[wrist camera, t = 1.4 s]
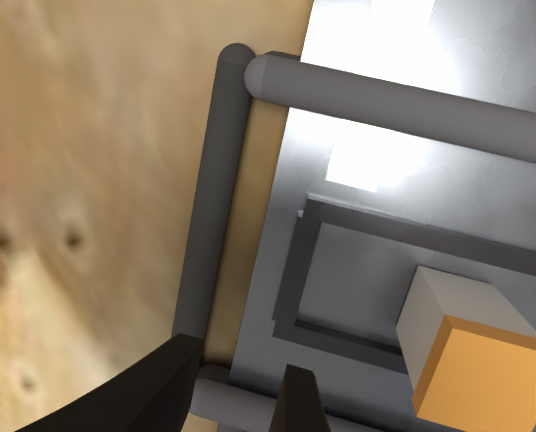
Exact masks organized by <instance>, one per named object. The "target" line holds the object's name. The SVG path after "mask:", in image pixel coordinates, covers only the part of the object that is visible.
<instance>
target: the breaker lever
mask: <svg viewBox="0 0 536 432" xmlns="http://www.w3.org/2000/svg"><path fill="white" fill-rule="evenodd" d="M396 332H397V335H398V339H399V342H400V346H401V349H402V352H403V356H404V359H405V363H406V366H407V370H408V373H409V376H410V380H411V383H412V387H413V390H414V394H413V396H412V402H413V406H414V410H415V413H416V417H418V418H422V419H425V420H429V421H432V422H435V423H439V424H442V425H446V426H449V427H453V428H456V429H459V430H463V431H466V432H532V430H533V428H534V426H535V424H536V331H535V329H534V328H533V327H532V326H531V325H530V324H529V323H528V322H527V321H526V320H525V319H524V317H523V316H522V315H521V314H520V313H519V312H518V311H517V310H516V309H515V308H514V307H513V305H512V304H511V303H510V302H509V301H508V300H507V299H506V298H505V297H504V296H503V295H502V293H501V292H500V291H499V290H498V289H497V288H496V287H495V286H494V285H493V284H489V283H485V282H481V281H477V280H473V279H469V278H465V277H462V276H458V275H454V274H450V273H446V272H442V271H438V270H434V269H431V268H427V267H423V266H419V265H418V267H417V270H416V273H415V276H414V278H413V281H412V284H411V287H410V290H409V292H408V295H407V298H406V301H405V304H404V306H403V309H402V312H401V315H400V317H399V320H398V323H397V326H396Z"/></svg>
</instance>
